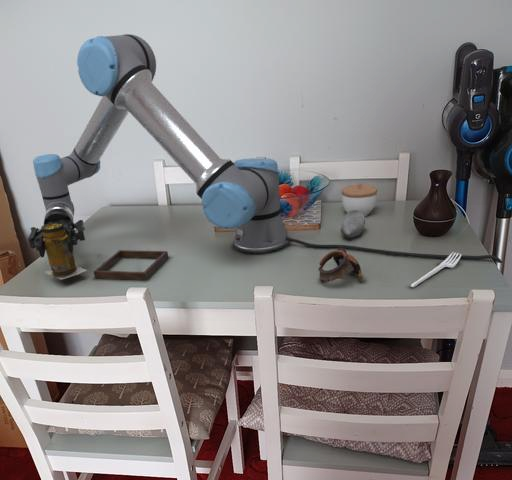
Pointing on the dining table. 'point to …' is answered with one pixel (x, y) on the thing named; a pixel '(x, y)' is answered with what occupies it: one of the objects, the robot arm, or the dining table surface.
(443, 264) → the fork
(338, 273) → the brown curved ring piece
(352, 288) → the dining table surface
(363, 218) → the grey oval rock
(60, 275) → the condiment
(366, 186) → the trinket box
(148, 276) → the caddy
